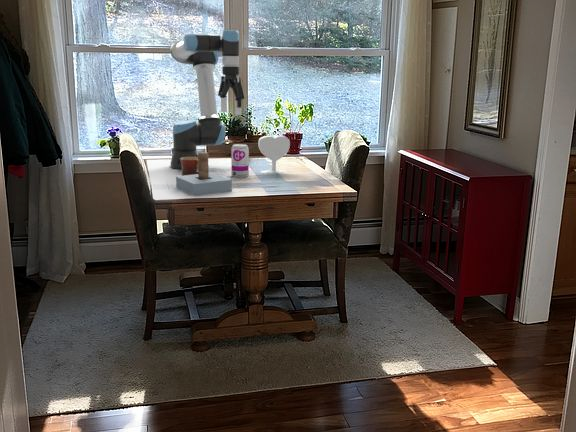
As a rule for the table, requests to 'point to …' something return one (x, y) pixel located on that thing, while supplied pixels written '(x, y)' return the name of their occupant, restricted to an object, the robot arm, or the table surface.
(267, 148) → the heart sculpture
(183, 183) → the socket block
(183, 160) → the mug
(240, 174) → the supplement can
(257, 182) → the table surface
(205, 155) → the walnut peg
